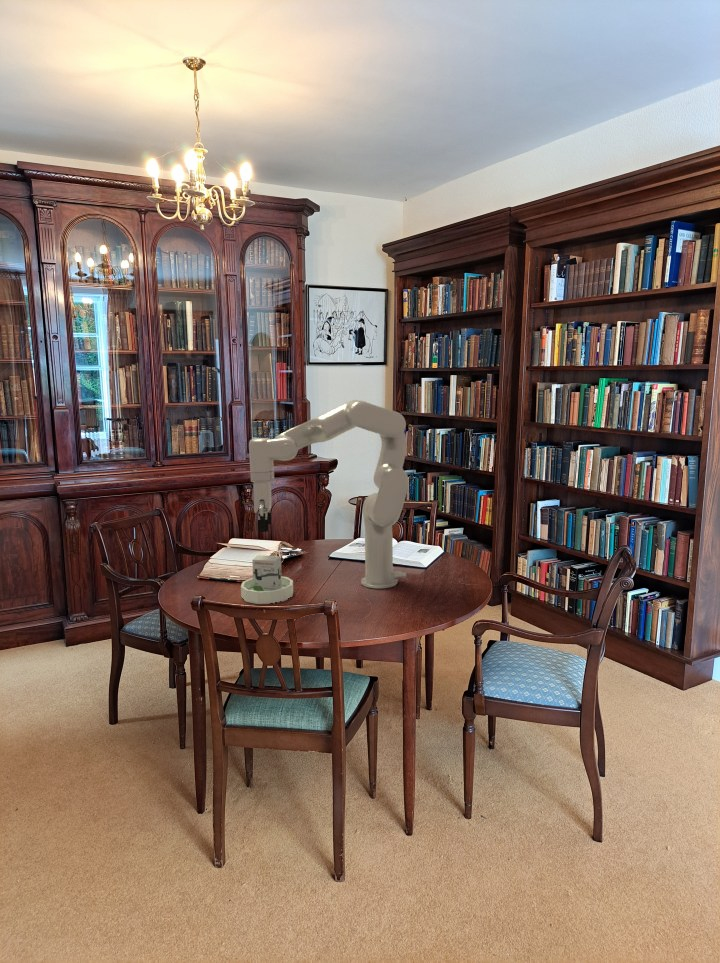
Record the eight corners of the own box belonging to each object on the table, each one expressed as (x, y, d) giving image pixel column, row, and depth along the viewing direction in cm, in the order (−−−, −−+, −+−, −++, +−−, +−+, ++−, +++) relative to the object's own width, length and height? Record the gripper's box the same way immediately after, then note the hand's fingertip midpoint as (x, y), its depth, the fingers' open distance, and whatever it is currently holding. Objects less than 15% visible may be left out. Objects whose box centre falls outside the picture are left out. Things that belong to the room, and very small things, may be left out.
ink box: (252, 593, 213) (251, 559, 211) (258, 588, 218) (256, 554, 216) (277, 595, 211) (276, 560, 209) (282, 590, 216) (281, 555, 214)
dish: (294, 585, 223) (293, 574, 223) (291, 602, 207) (291, 590, 206) (245, 587, 222) (244, 576, 222) (238, 604, 206) (238, 592, 205)
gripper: (253, 472, 216) (256, 522, 219) (247, 481, 199) (250, 535, 202) (276, 472, 217) (278, 521, 220) (271, 480, 200) (274, 534, 203)
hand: (265, 528), depth 211 cm, fingers open, 9 cm apart
